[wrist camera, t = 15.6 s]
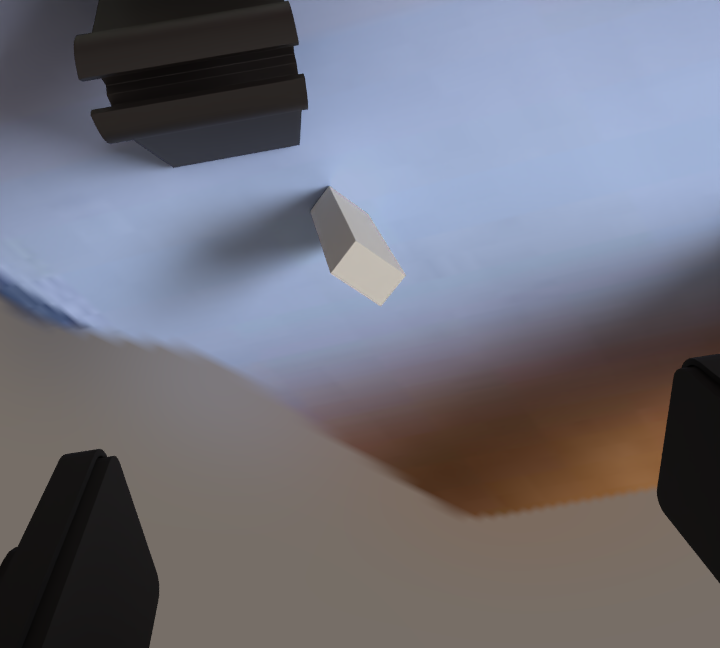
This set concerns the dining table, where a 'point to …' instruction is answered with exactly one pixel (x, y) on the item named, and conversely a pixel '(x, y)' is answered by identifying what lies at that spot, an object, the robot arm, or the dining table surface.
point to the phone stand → (195, 76)
